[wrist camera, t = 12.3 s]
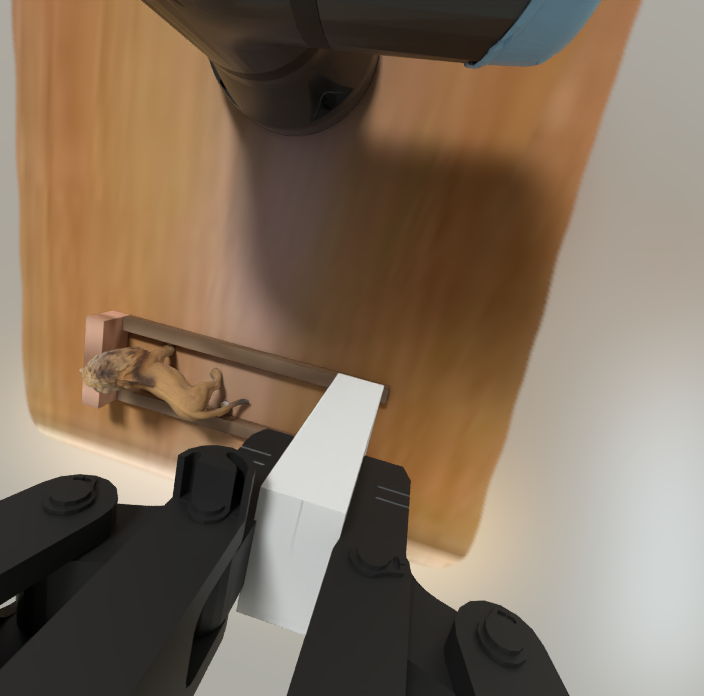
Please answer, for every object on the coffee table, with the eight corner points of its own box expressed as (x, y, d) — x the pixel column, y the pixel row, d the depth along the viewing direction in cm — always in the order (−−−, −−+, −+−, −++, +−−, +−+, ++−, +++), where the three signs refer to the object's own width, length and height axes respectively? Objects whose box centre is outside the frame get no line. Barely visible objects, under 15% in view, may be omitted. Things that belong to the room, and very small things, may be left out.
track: (114, 310, 47) (86, 316, 44) (390, 386, 44) (386, 400, 40) (108, 391, 50) (81, 403, 46) (367, 469, 47) (362, 489, 43)
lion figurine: (130, 368, 49) (67, 395, 40) (140, 327, 47) (76, 345, 39) (244, 419, 48) (205, 457, 39) (258, 378, 46) (220, 408, 38)
